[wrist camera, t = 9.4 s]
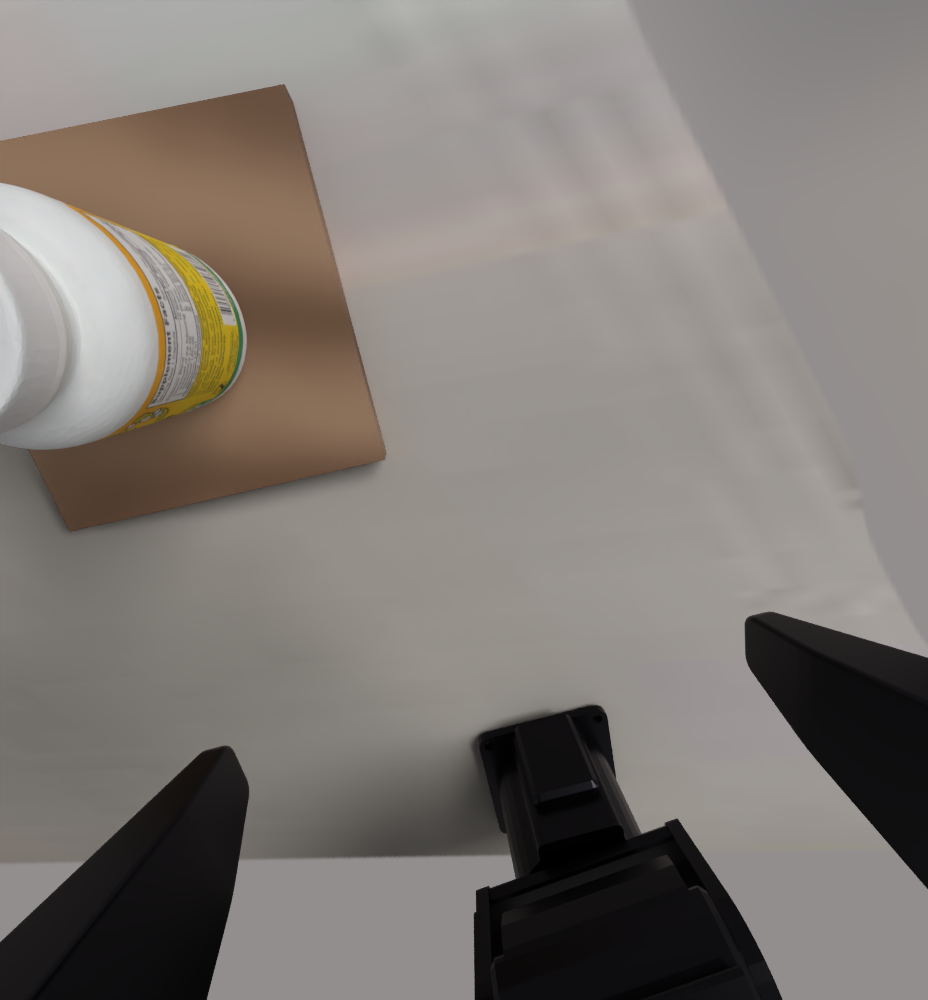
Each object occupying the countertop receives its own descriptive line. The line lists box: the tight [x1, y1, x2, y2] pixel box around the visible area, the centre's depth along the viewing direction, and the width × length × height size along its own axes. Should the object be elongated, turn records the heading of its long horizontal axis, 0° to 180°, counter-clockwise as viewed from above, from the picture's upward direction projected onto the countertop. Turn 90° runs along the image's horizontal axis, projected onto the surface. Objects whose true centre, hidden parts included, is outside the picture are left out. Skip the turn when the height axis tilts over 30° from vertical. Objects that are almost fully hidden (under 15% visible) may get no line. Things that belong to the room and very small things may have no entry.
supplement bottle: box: [0, 183, 247, 450], centre depth 12 cm, size 5×5×10 cm
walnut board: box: [0, 84, 386, 531], centre depth 17 cm, size 12×12×1 cm
